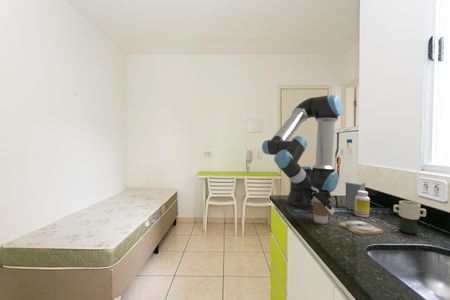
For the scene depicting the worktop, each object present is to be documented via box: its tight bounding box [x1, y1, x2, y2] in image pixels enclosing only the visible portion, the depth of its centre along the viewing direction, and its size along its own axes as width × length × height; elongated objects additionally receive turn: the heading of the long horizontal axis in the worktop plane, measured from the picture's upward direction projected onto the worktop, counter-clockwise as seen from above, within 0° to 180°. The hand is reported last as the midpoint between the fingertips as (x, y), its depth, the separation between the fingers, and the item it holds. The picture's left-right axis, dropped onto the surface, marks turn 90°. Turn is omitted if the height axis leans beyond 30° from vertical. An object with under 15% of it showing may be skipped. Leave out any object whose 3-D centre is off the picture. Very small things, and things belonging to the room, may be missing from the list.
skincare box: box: [345, 180, 366, 211], centre depth 126 cm, size 8×7×16 cm
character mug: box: [392, 200, 427, 235], centre depth 95 cm, size 11×7×13 cm, turn 55°
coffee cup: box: [312, 189, 332, 225], centre depth 106 cm, size 8×8×15 cm
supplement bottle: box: [354, 190, 371, 218], centre depth 116 cm, size 7×7×13 cm
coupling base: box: [338, 220, 384, 237], centre depth 98 cm, size 12×12×2 cm
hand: (326, 209), depth 107 cm, fingers closed on coffee cup, 8 cm apart
